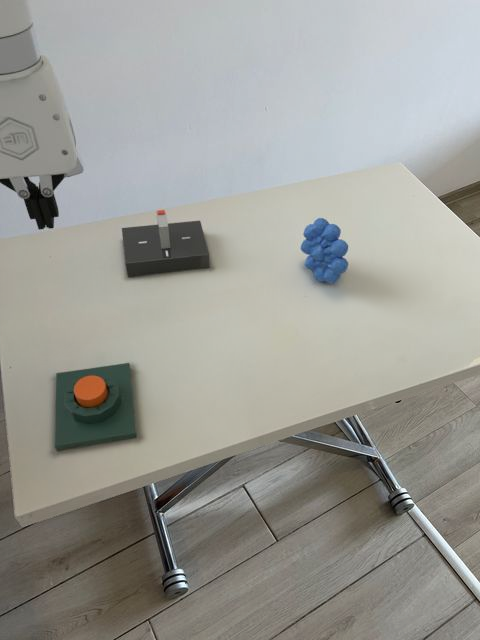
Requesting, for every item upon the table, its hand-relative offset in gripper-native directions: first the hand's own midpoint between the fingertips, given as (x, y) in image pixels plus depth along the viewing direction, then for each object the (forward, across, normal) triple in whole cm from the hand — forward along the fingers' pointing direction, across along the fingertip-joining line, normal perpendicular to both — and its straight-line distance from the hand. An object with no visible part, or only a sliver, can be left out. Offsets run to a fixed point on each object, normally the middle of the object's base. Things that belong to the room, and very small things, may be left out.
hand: (46, 221), depth 61 cm
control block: (+23, +1, -10) cm, 25 cm away
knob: (+20, +14, +21) cm, 32 cm away
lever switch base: (+23, +14, +21) cm, 34 cm away
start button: (+21, +1, -10) cm, 23 cm away
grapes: (+23, +40, +10) cm, 47 cm away
